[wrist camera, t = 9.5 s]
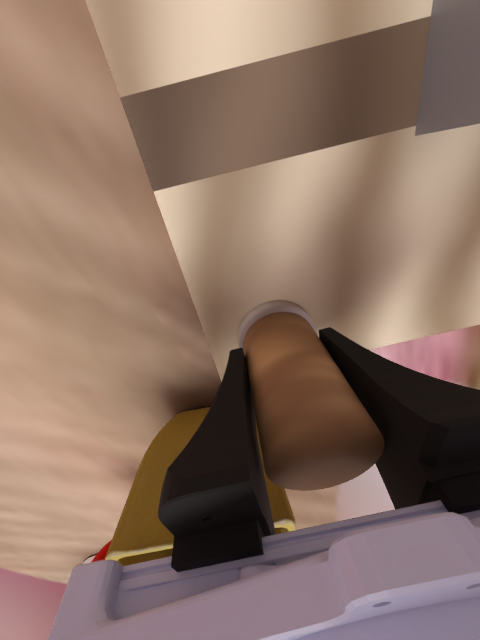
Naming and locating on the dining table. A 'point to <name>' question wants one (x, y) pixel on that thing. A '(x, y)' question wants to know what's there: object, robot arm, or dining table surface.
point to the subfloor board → (301, 162)
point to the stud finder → (451, 68)
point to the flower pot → (143, 501)
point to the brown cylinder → (303, 402)
